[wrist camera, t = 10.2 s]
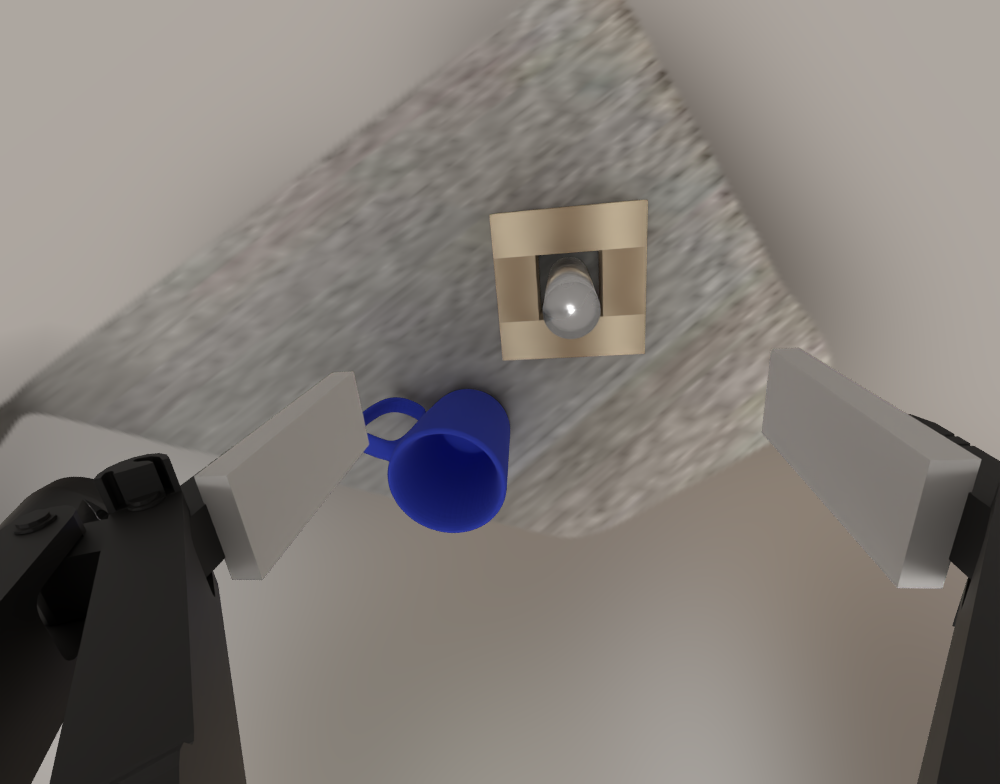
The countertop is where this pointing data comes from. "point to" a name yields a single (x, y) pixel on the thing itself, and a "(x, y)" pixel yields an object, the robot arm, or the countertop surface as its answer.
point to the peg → (570, 300)
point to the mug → (447, 459)
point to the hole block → (566, 231)
